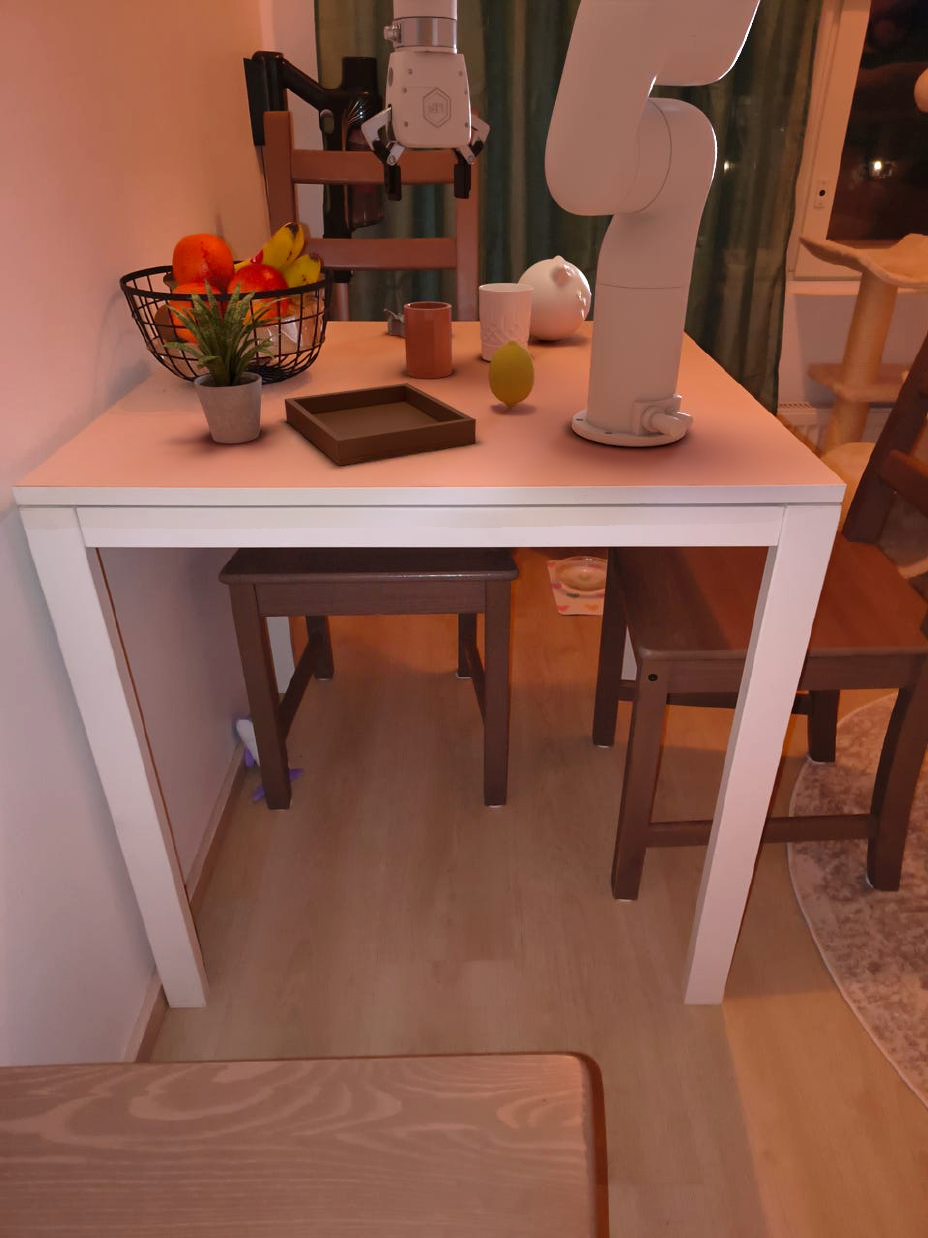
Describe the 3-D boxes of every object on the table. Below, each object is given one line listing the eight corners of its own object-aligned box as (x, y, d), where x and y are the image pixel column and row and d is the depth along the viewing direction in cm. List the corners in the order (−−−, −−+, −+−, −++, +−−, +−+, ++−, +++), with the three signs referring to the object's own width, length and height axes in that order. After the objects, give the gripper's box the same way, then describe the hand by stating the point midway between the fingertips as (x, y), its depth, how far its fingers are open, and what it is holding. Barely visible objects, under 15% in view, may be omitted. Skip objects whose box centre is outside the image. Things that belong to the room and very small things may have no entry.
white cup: (531, 352, 128) (533, 283, 123) (529, 364, 121) (532, 291, 116) (480, 351, 128) (480, 282, 123) (475, 363, 121) (476, 290, 116)
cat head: (508, 330, 143) (510, 253, 137) (584, 331, 142) (590, 253, 136) (507, 349, 130) (509, 264, 124) (591, 350, 129) (597, 265, 123)
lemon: (482, 412, 99) (482, 343, 95) (496, 400, 104) (497, 334, 100) (526, 416, 98) (528, 346, 94) (538, 404, 102) (541, 337, 98)
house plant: (287, 461, 84) (268, 290, 76) (153, 460, 84) (119, 290, 76) (312, 420, 96) (298, 270, 88) (195, 420, 97) (170, 270, 89)
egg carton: (381, 333, 141) (379, 308, 139) (414, 327, 145) (413, 303, 143) (422, 342, 134) (421, 316, 132) (455, 335, 139) (455, 310, 137)
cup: (459, 375, 115) (459, 307, 111) (418, 380, 113) (416, 311, 108) (439, 365, 120) (438, 300, 116) (399, 370, 118) (396, 303, 113)
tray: (475, 442, 89) (475, 419, 88) (339, 466, 83) (337, 440, 82) (408, 403, 103) (407, 382, 101) (286, 420, 96) (284, 398, 95)
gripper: (370, 33, 93) (378, 203, 102) (503, 40, 100) (500, 199, 108) (346, 39, 99) (356, 199, 107) (474, 45, 106) (473, 196, 114)
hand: (428, 199), depth 108 cm, fingers open, 9 cm apart
